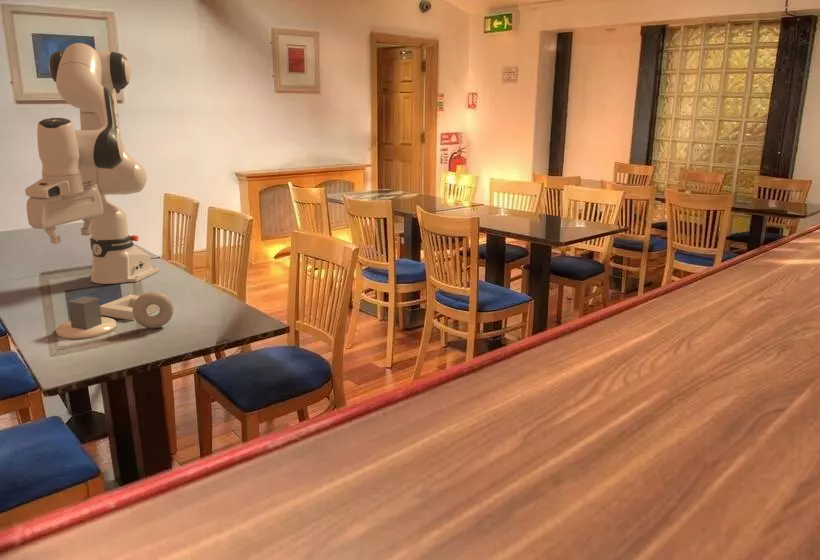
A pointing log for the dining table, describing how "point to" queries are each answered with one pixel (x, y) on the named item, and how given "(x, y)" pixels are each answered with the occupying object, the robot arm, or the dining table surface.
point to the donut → (150, 299)
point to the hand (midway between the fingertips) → (71, 238)
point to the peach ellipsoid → (75, 333)
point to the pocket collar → (124, 308)
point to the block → (85, 312)
